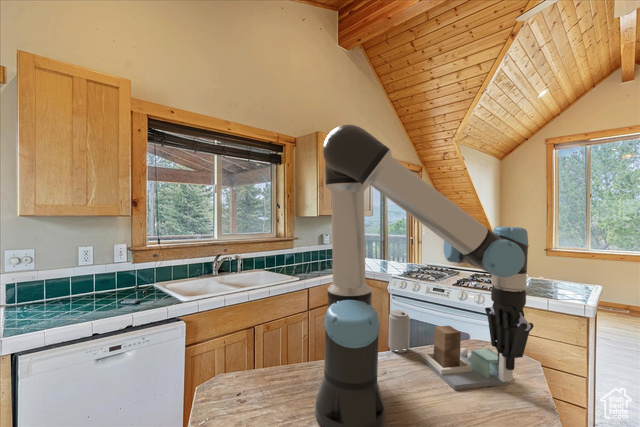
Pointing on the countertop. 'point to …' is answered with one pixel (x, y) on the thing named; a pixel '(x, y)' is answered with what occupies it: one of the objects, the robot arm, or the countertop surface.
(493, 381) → the jig board
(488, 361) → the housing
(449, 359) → the block
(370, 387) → the robot arm
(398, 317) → the beverage can
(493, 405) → the countertop surface
